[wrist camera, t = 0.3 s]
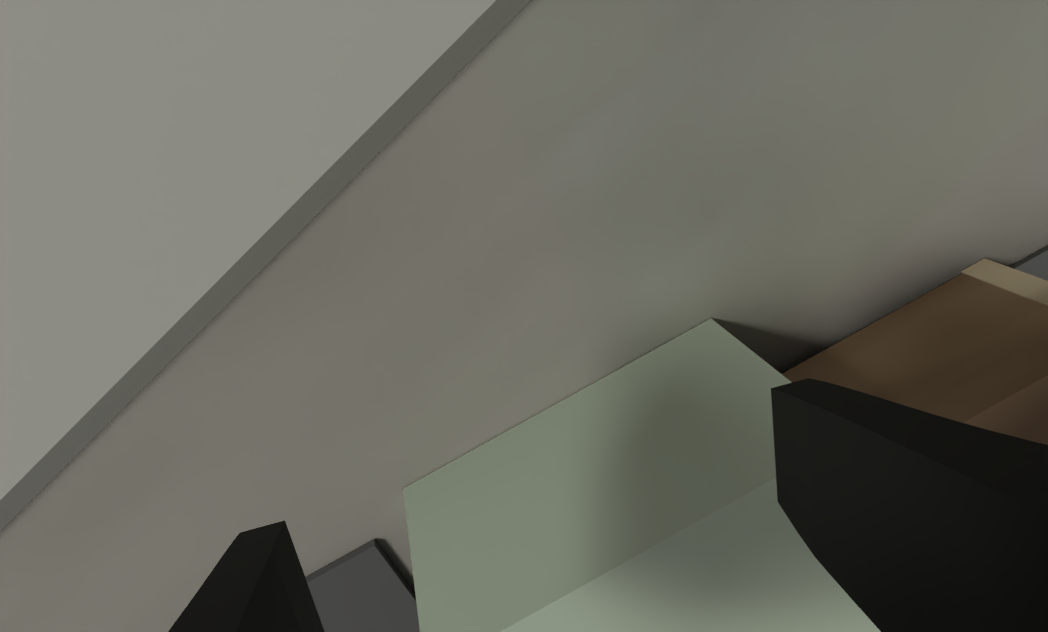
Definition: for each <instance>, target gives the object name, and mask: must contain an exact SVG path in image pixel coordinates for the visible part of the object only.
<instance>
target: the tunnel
mask: <svg viewBox="0 0 1048 632" xmlns="http://www.w3.org/2000/svg"><path fill="white" fill-rule="evenodd" d="M789 383H792V382H791V381H789V380H788V379H787V378H786V377H784V376H783V375H782V374H781V373H779V372H778V371H777V370H776V369H774V368H773V367H772V366H771V365H769V364H768V363H767V362H765V361H764V360H763V359H762V358H760V357H759V356H758V355H757V354H755V353H754V352H753V351H752V350H750V349H749V348H748V347H747V346H745V345H744V344H743V343H742V342H740V341H739V340H738V339H737V338H735V337H734V336H733V335H731V334H730V333H729V332H728V331H726V330H725V329H724V328H723V327H721V326H720V325H719V324H718V323H716V322H715V321H714V320H713V319H709V320H707V321H705V322H703V323H702V324H700V325H698V326H696V327H694V328H693V329H691V330H689V331H687V332H685V333H684V334H682V335H680V336H678V337H676V338H675V339H673V340H671V341H669V342H667V343H665V344H664V345H662V346H660V347H658V348H656V349H655V350H653V351H651V352H649V353H647V354H646V355H644V356H642V357H640V358H638V359H637V360H635V361H633V362H631V363H629V364H628V365H626V366H624V367H622V368H620V369H618V370H617V371H615V372H613V373H611V374H609V375H608V376H606V377H604V378H602V379H600V380H599V381H597V382H595V383H593V384H591V385H590V386H588V387H586V388H584V389H582V390H580V391H579V392H577V393H575V394H573V395H571V396H570V397H568V398H566V399H564V400H562V401H561V402H559V403H557V404H555V405H553V406H552V407H550V408H548V409H546V410H544V411H542V412H541V413H539V414H537V415H535V416H533V417H532V418H530V419H528V420H526V421H524V422H523V423H521V424H519V425H517V426H515V427H514V428H512V429H510V430H508V431H506V432H505V433H503V434H501V435H499V436H497V437H495V438H494V439H492V440H490V441H488V442H486V443H485V444H483V445H481V446H479V447H477V448H476V449H474V450H472V451H470V452H468V453H467V454H465V455H463V456H461V457H459V458H457V459H456V460H454V461H452V462H450V463H448V464H447V465H445V466H443V467H441V468H439V469H438V470H436V471H434V472H432V473H430V474H429V475H427V476H425V477H423V478H421V479H420V480H418V481H416V482H414V483H412V484H410V485H409V486H407V487H405V488H403V495H404V503H405V512H406V520H407V528H408V537H409V545H410V553H411V562H412V570H413V578H414V587H415V595H416V604H417V612H418V620H419V629H420V632H881V631H880V630H879V629H878V628H877V627H876V626H875V625H874V623H873V622H872V621H871V620H870V619H869V618H868V617H867V616H866V615H865V613H864V612H863V611H862V610H861V609H860V608H859V607H858V606H857V605H856V603H855V602H854V601H853V600H852V599H851V598H850V597H849V596H848V594H847V593H846V592H845V591H844V590H843V589H842V588H841V586H840V585H839V584H838V583H837V582H836V581H835V580H834V579H833V577H832V576H831V575H830V574H829V573H828V572H827V571H826V569H825V568H824V567H823V566H822V565H821V564H820V562H819V561H818V560H817V559H816V558H815V557H814V555H813V554H812V552H811V551H810V549H809V548H808V547H807V545H806V544H805V542H804V541H803V539H802V538H801V537H800V535H799V534H798V532H797V531H796V529H795V528H794V526H793V525H792V523H791V522H790V520H789V519H788V517H787V515H786V514H785V512H784V511H783V509H782V508H781V506H780V505H779V503H778V500H777V483H776V467H775V450H774V434H773V417H772V401H771V388H774V387H778V386H781V385H785V384H789Z"/></svg>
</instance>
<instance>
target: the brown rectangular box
mask: <svg viewBox="0 0 1048 632" xmlns="http://www.w3.org/2000/svg"><path fill="white" fill-rule="evenodd" d="M961 272H962V274H961V275H959V276H957V277H955V278H953V279H952V280H950V281H948V282H946V283H944V284H943V285H941V286H939V287H937V288H935V289H934V290H932V291H930V292H928V293H926V294H925V295H923V296H921V297H919V298H917V299H916V300H914V301H912V302H910V303H908V304H907V305H905V306H903V307H901V308H899V309H898V310H896V311H894V312H892V313H890V314H889V315H887V316H885V317H883V318H881V319H880V320H878V321H876V322H874V323H872V324H871V325H869V326H867V327H865V328H863V329H862V330H860V331H858V332H856V333H854V334H853V335H851V336H849V337H847V338H845V339H844V340H842V341H840V342H838V343H836V344H835V345H833V346H831V347H829V348H827V349H826V350H824V351H822V352H820V353H818V354H817V355H815V356H813V357H811V358H809V359H808V360H806V361H804V362H802V363H800V364H799V365H797V366H795V367H793V368H791V369H790V370H788V371H786V372H784V373H782V375H783V376H784V377H786V378H787V379H788V380H789V381H791V382H796V381H800V380H803V379H807V378H810V379H815V380H820V381H824V382H828V383H832V384H836V385H839V386H843V387H846V388H850V389H853V390H856V391H860V392H863V393H866V394H869V395H873V396H876V397H879V398H882V399H886V400H889V401H892V402H895V403H898V404H902V405H905V406H908V407H911V408H915V409H918V410H921V411H924V412H928V413H931V414H934V415H938V416H941V417H944V418H948V419H951V420H955V421H958V422H962V423H965V424H969V425H972V426H976V427H979V428H983V429H987V430H991V431H994V432H998V433H1002V434H1006V435H1010V436H1014V437H1018V438H1022V439H1026V440H1030V441H1033V442H1038V443H1042V444H1046V445H1048V281H1047V280H1044V279H1041V278H1038V277H1036V276H1033V275H1030V274H1027V273H1024V272H1022V271H1019V270H1016V269H1013V268H1010V267H1008V266H1005V265H1002V264H999V263H996V262H994V261H991V260H988V259H985V258H984V259H982V260H981V261H979V262H977V263H975V264H973V265H972V266H970V267H968V268H966V269H964V270H963V271H961Z"/></svg>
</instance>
